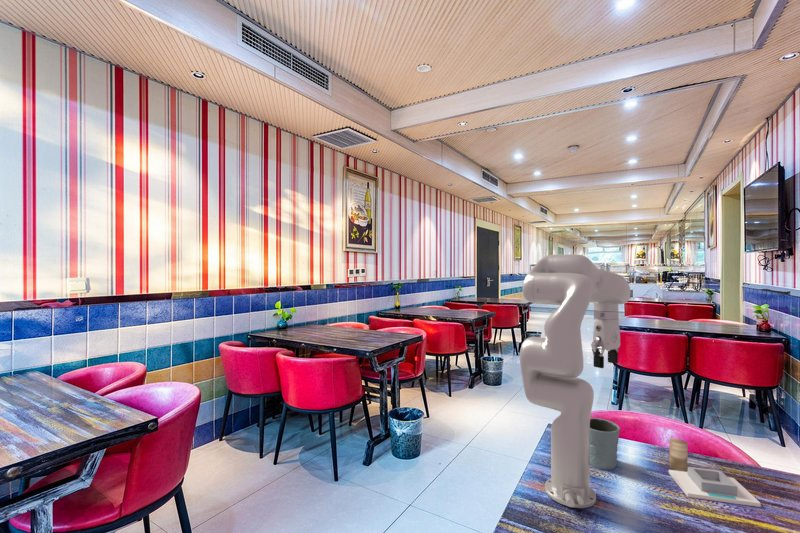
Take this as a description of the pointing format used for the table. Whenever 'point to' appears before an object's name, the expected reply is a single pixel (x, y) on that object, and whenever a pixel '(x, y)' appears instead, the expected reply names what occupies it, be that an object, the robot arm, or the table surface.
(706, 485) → the white square-hole tray
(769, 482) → the table surface
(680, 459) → the barrel peg
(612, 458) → the grey cylindrical pot
